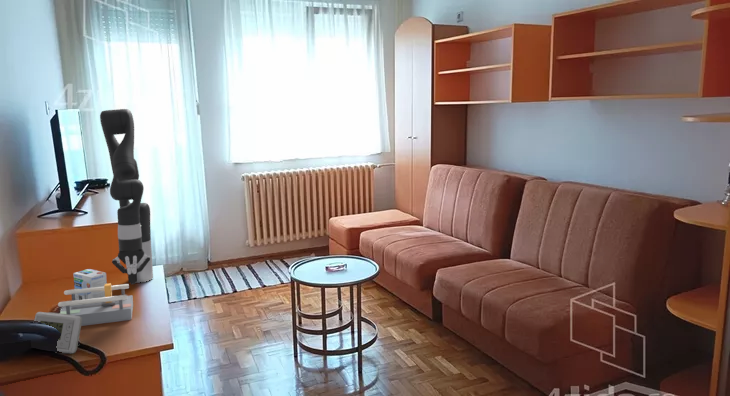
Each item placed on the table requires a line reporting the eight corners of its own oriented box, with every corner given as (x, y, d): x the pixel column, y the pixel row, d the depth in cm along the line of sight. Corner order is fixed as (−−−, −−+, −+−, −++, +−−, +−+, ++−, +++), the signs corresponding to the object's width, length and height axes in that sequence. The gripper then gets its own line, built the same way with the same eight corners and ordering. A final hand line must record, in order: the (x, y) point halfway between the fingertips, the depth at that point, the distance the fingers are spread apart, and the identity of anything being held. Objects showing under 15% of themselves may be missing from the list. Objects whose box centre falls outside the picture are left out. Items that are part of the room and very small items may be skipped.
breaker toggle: (103, 302, 184) (101, 283, 183) (115, 300, 185) (114, 282, 184) (102, 306, 180) (100, 287, 179) (114, 304, 182) (113, 285, 180)
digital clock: (26, 349, 157) (23, 316, 155) (54, 337, 165) (51, 306, 163) (63, 360, 151) (59, 325, 149) (90, 347, 159) (87, 314, 157)
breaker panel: (65, 313, 184) (63, 289, 183) (133, 305, 192) (131, 282, 191) (58, 328, 172) (56, 303, 170) (131, 319, 180) (129, 295, 178)
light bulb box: (74, 300, 198) (72, 272, 196) (91, 294, 203) (88, 268, 202) (92, 305, 193) (90, 277, 191) (108, 299, 199) (106, 272, 197)
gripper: (150, 232, 188) (153, 278, 190) (110, 235, 183) (113, 282, 186) (150, 237, 181) (152, 284, 183) (108, 240, 176) (111, 288, 179)
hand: (132, 283), depth 184 cm, fingers closed
